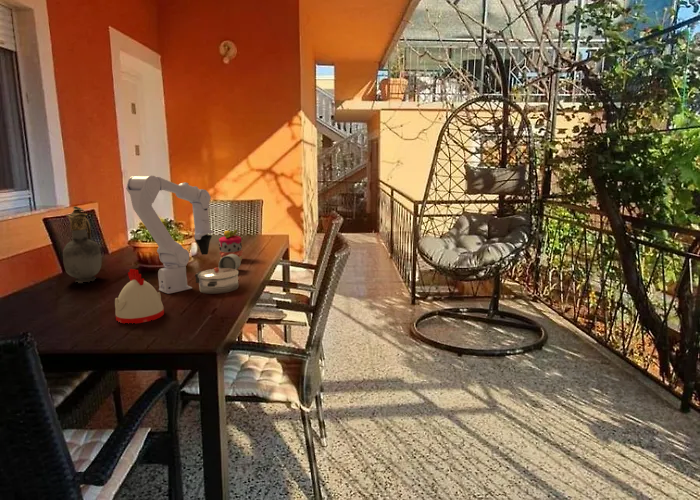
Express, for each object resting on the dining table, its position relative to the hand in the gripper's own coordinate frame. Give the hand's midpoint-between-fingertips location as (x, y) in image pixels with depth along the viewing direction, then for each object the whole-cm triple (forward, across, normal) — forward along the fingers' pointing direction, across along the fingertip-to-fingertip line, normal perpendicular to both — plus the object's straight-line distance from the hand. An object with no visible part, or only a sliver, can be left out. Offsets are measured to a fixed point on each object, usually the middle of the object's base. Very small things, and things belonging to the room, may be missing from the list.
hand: (204, 254), depth 191 cm
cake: (+11, +34, -2) cm, 36 cm away
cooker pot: (+10, -13, -8) cm, 19 cm away
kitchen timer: (+10, -43, +9) cm, 45 cm away
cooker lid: (+5, -13, -8) cm, 16 cm away
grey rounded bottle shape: (+10, +4, +50) cm, 51 cm away
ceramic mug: (+11, +12, -5) cm, 17 cm away
